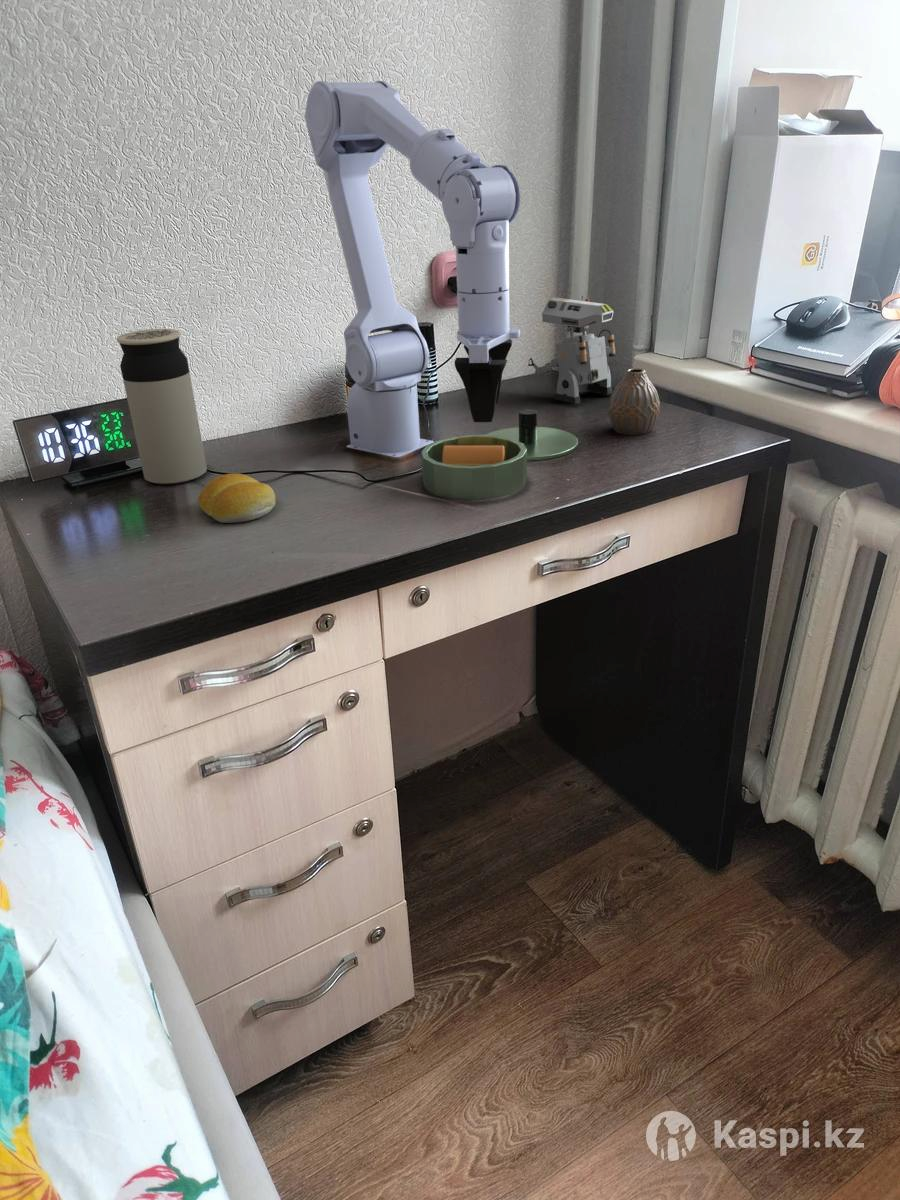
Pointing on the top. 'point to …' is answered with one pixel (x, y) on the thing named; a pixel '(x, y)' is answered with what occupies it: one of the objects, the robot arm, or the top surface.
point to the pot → (474, 470)
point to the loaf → (473, 455)
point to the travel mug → (162, 406)
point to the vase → (634, 404)
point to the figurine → (579, 348)
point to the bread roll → (236, 498)
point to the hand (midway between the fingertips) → (486, 412)
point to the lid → (539, 438)
